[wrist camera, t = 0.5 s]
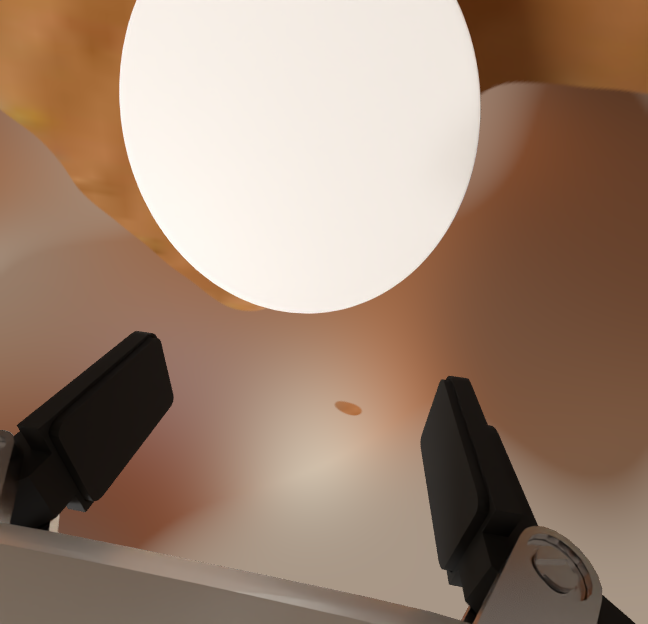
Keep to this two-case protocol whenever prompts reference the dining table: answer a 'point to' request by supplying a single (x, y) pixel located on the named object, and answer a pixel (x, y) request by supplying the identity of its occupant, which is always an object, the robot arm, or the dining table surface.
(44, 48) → the dining table surface
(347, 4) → the plate stack
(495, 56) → the dining table surface
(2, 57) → the dining table surface
